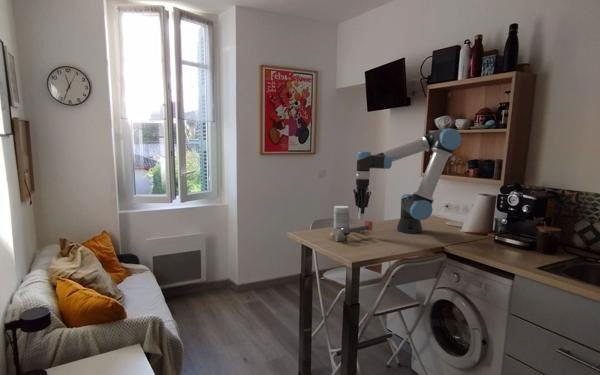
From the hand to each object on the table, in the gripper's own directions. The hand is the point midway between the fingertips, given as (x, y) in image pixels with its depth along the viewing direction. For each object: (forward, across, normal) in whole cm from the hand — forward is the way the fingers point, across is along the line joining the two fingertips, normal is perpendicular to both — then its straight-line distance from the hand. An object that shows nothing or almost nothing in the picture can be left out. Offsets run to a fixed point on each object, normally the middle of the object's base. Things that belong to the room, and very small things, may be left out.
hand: (360, 218), depth 202 cm
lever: (+8, +7, -11) cm, 16 cm away
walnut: (+9, +3, -21) cm, 23 cm away
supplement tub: (+10, -17, -1) cm, 20 cm away
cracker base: (+10, +9, -13) cm, 19 cm away
